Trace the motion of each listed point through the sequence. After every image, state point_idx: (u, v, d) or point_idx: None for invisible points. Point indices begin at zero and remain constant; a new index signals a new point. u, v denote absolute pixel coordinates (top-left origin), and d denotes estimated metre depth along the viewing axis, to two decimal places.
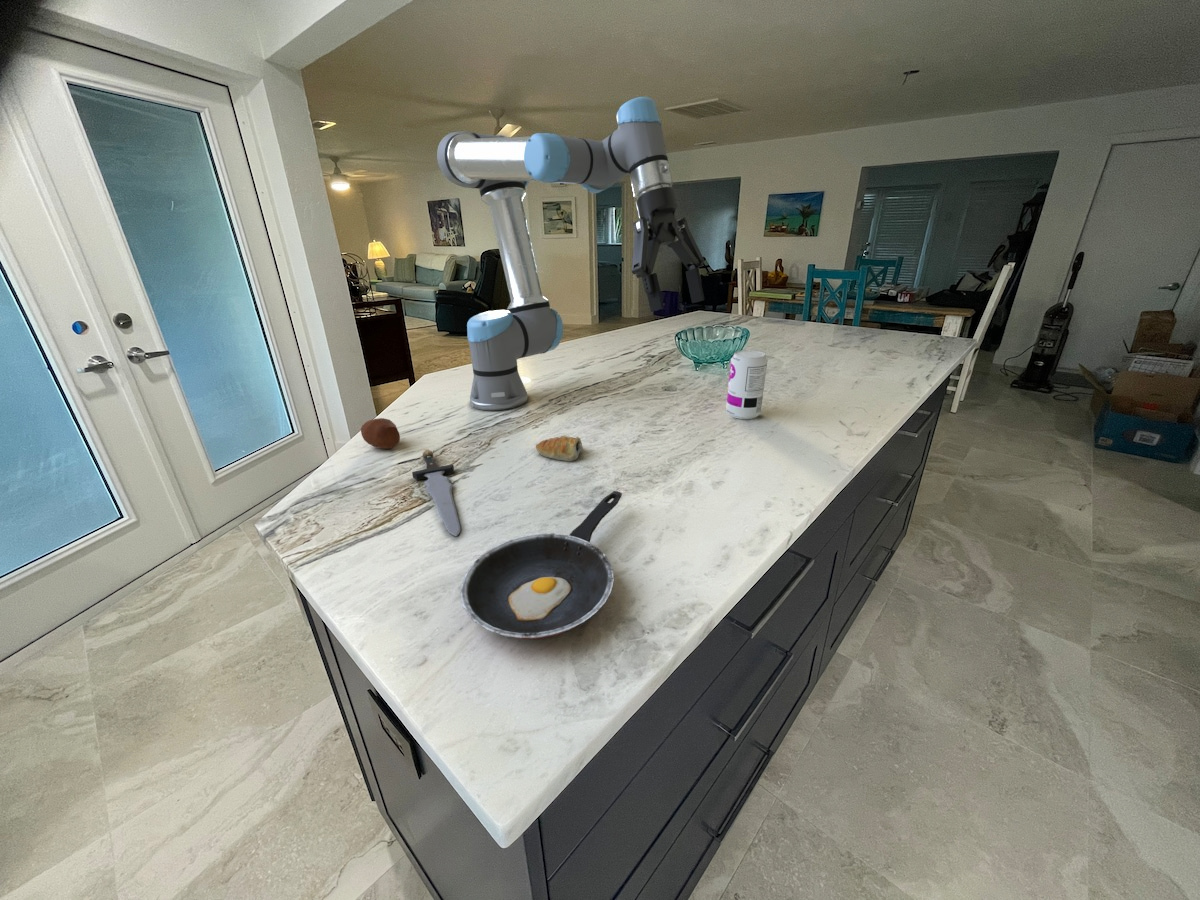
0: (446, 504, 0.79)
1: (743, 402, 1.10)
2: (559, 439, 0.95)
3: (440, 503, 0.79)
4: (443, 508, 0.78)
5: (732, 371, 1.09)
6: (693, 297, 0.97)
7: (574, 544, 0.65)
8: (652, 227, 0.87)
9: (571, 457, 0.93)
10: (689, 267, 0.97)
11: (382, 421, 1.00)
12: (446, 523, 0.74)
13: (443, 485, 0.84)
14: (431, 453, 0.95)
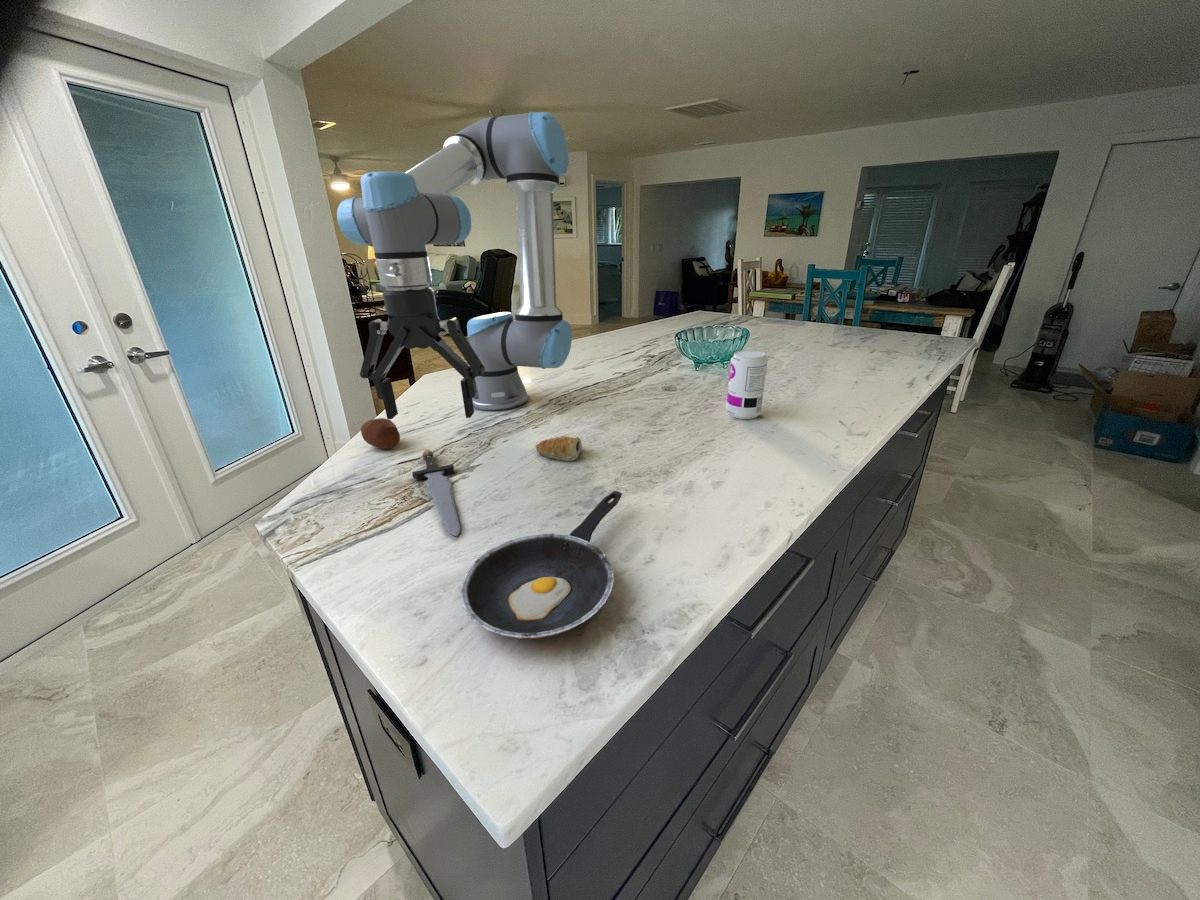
0: (446, 504, 0.79)
1: (743, 402, 1.10)
2: (559, 439, 0.95)
3: (440, 503, 0.79)
4: (443, 508, 0.78)
5: (732, 371, 1.09)
6: None
7: (574, 544, 0.65)
8: (389, 331, 0.75)
9: (571, 457, 0.93)
10: None
11: (382, 421, 1.00)
12: (446, 523, 0.74)
13: (443, 485, 0.84)
14: (431, 453, 0.95)
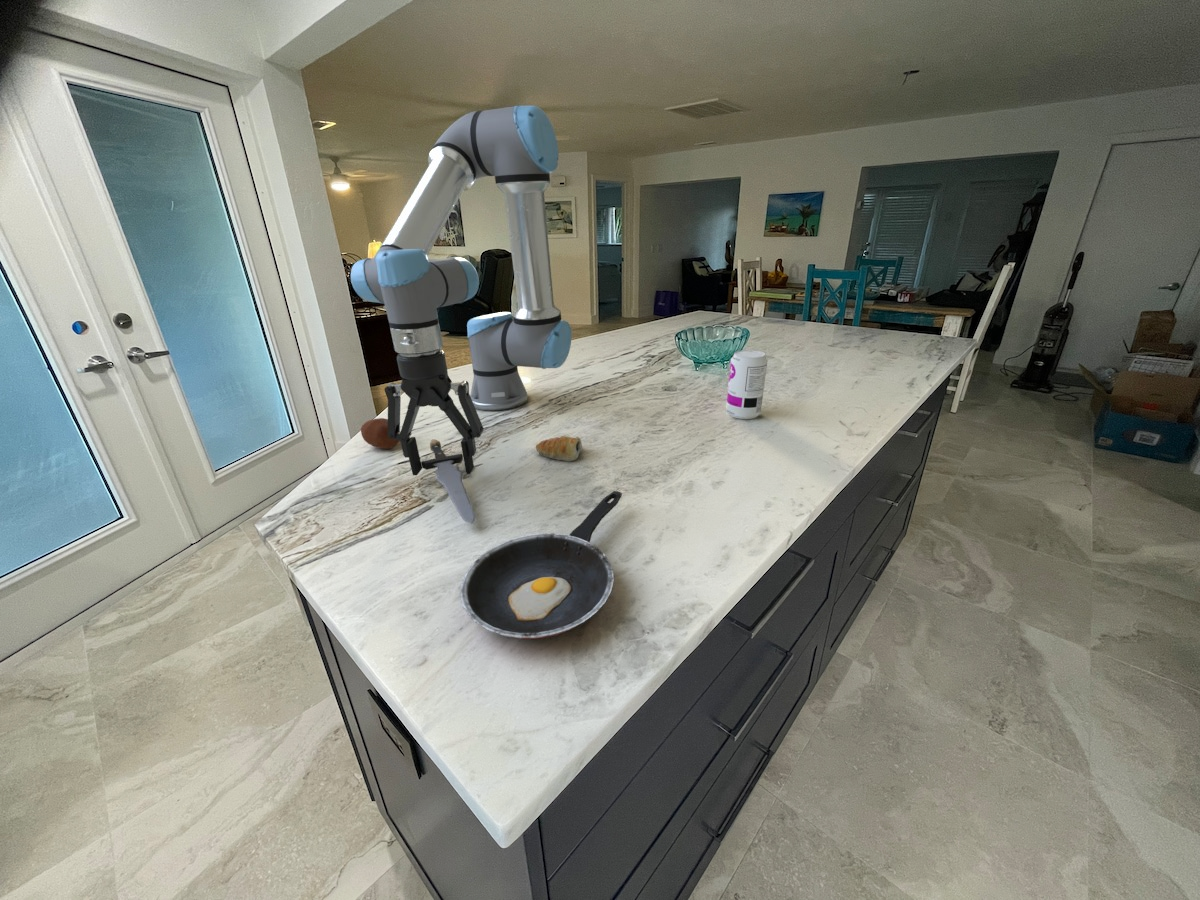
0: (458, 492, 0.79)
1: (743, 402, 1.10)
2: (559, 439, 0.95)
3: (452, 491, 0.79)
4: (456, 496, 0.78)
5: (732, 371, 1.09)
6: None
7: (574, 544, 0.65)
8: (403, 390, 0.79)
9: (571, 457, 0.93)
10: None
11: (382, 421, 1.00)
12: (460, 511, 0.74)
13: (453, 474, 0.84)
14: (438, 443, 0.95)
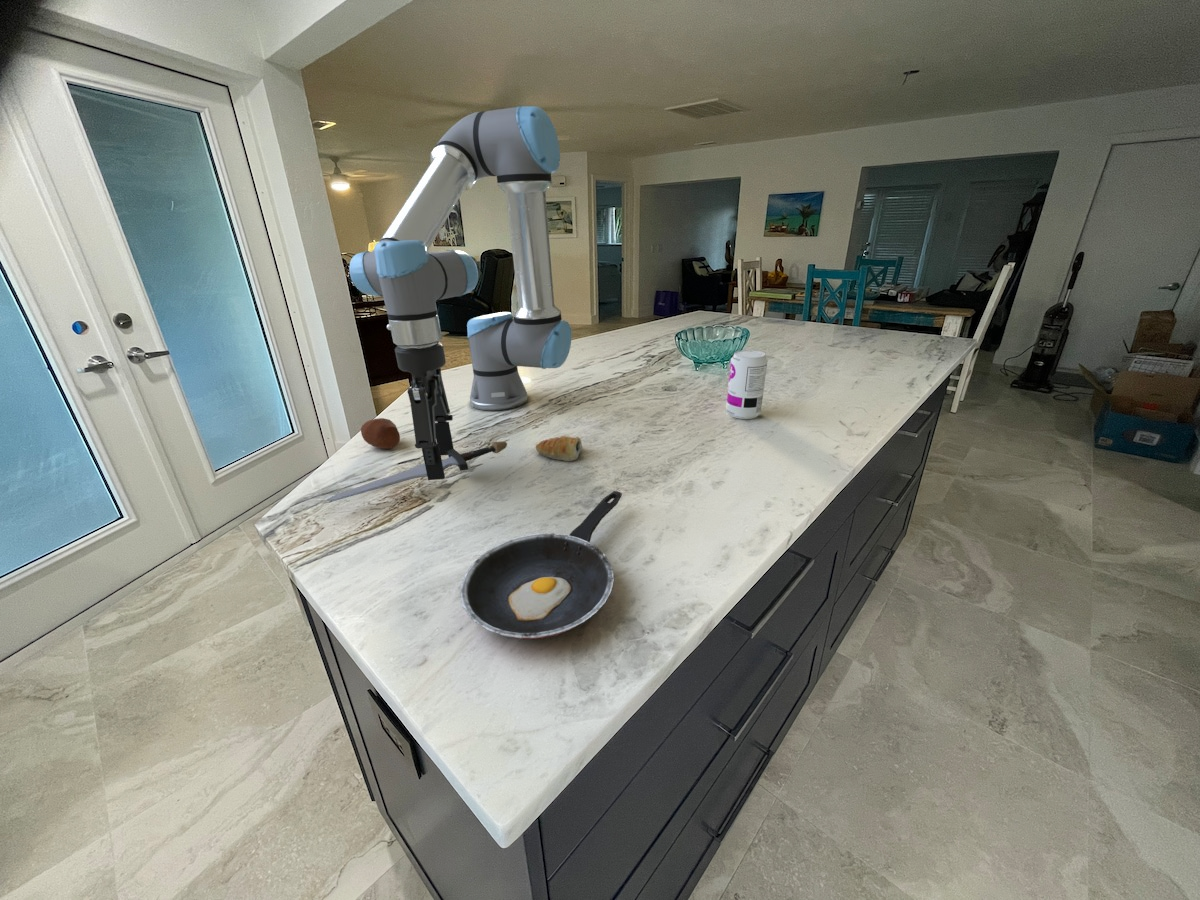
0: (384, 481, 0.80)
1: (743, 402, 1.10)
2: (559, 439, 0.95)
3: (388, 477, 0.81)
4: (377, 481, 0.80)
5: (732, 371, 1.09)
6: None
7: (574, 544, 0.65)
8: None
9: (571, 457, 0.93)
10: None
11: (382, 421, 1.00)
12: (349, 490, 0.78)
13: (423, 470, 0.83)
14: (494, 446, 0.90)
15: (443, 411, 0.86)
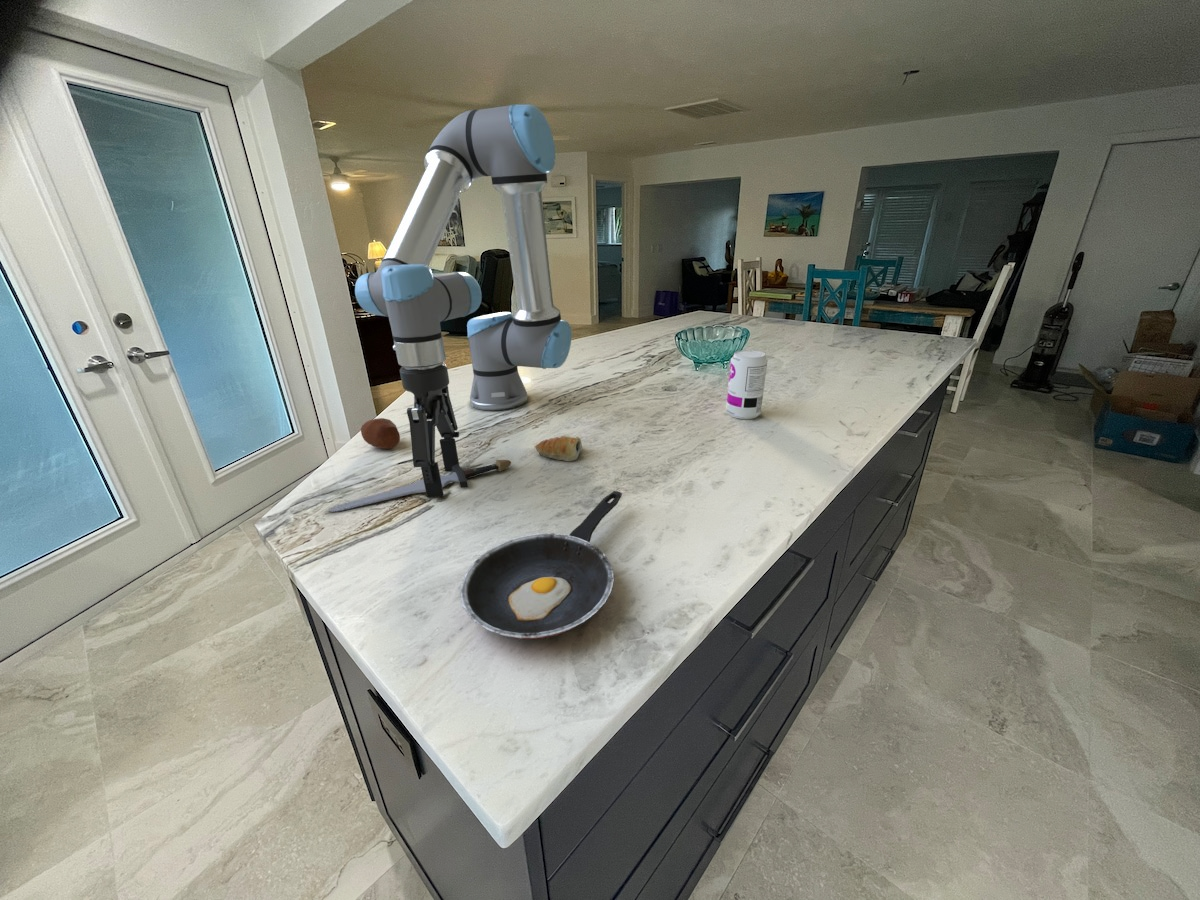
0: (386, 494, 0.82)
1: (743, 402, 1.10)
2: (559, 439, 0.95)
3: (390, 490, 0.83)
4: (380, 494, 0.83)
5: (732, 371, 1.09)
6: None
7: (574, 544, 0.65)
8: None
9: (571, 457, 0.93)
10: None
11: (382, 421, 1.00)
12: (352, 501, 0.81)
13: None
14: (497, 464, 0.90)
15: (449, 428, 0.87)
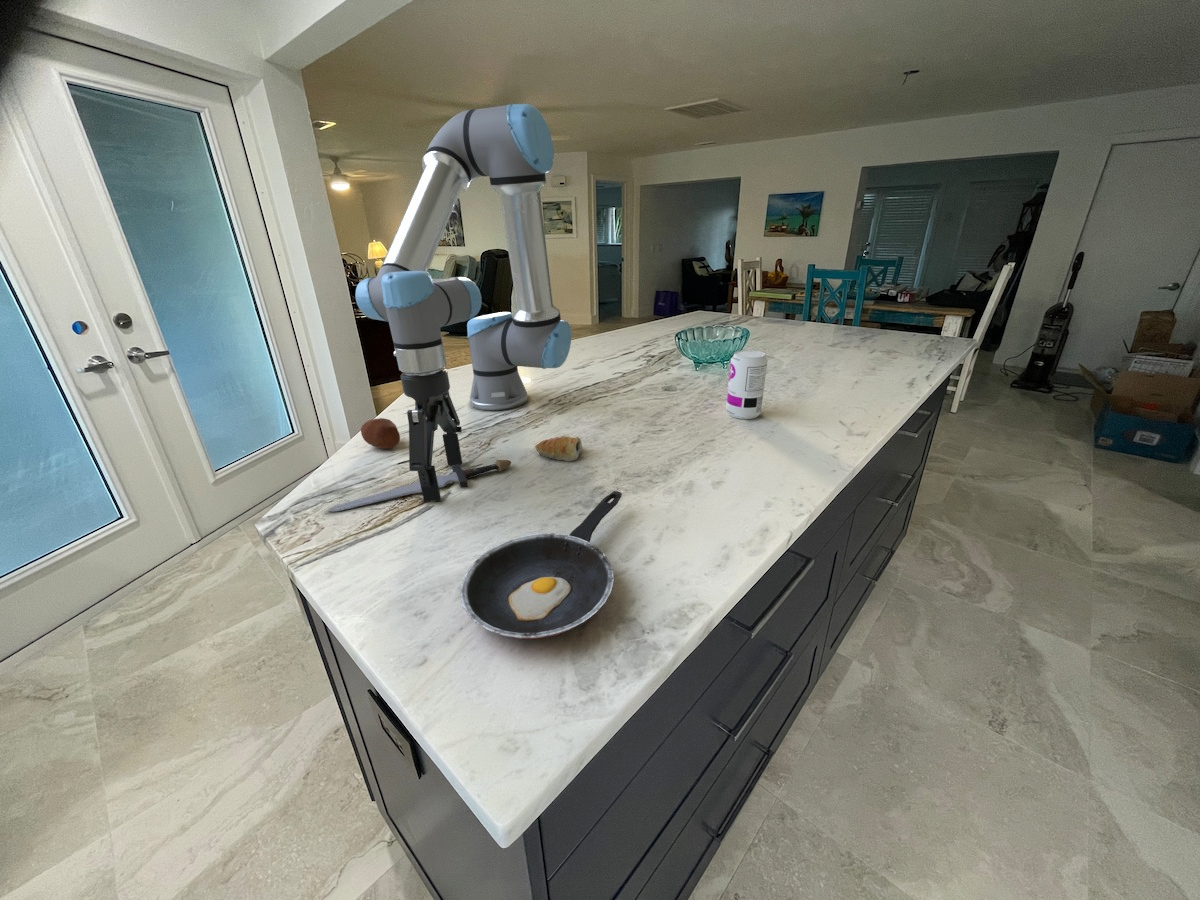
0: (386, 494, 0.82)
1: (743, 402, 1.10)
2: (559, 439, 0.95)
3: (390, 490, 0.83)
4: (380, 494, 0.83)
5: (732, 371, 1.09)
6: None
7: (574, 544, 0.65)
8: None
9: (571, 457, 0.93)
10: None
11: (382, 421, 1.00)
12: (352, 501, 0.81)
13: None
14: (497, 464, 0.90)
15: (451, 426, 0.89)
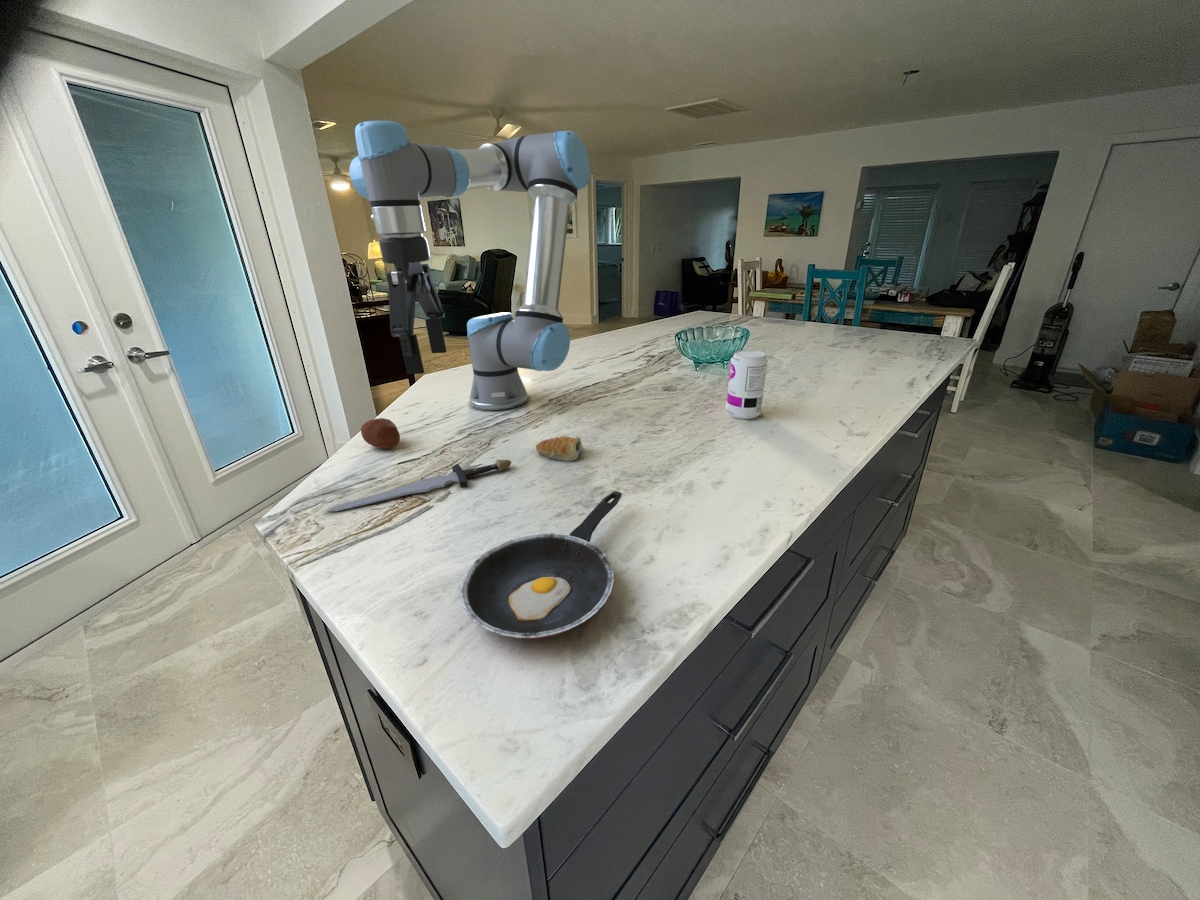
0: (386, 494, 0.82)
1: (743, 402, 1.10)
2: (559, 439, 0.95)
3: (390, 490, 0.83)
4: (380, 494, 0.83)
5: (732, 371, 1.09)
6: None
7: (574, 544, 0.65)
8: None
9: (571, 457, 0.93)
10: None
11: (382, 421, 1.00)
12: (352, 501, 0.81)
13: (425, 485, 0.84)
14: (497, 464, 0.90)
15: (434, 308, 0.88)
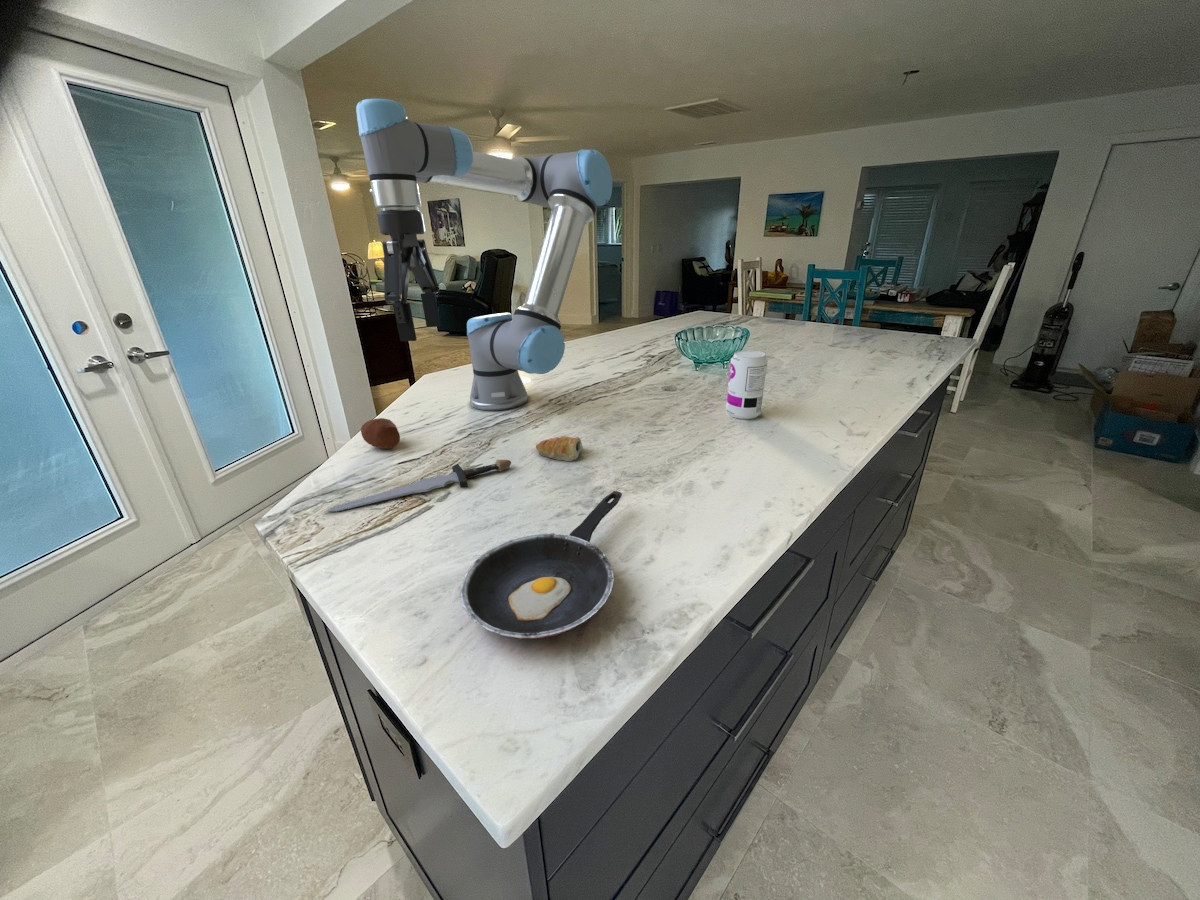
0: (386, 494, 0.82)
1: (743, 402, 1.10)
2: (559, 439, 0.95)
3: (390, 490, 0.83)
4: (380, 494, 0.83)
5: (732, 371, 1.09)
6: None
7: (574, 544, 0.65)
8: None
9: (571, 457, 0.93)
10: None
11: (382, 421, 1.00)
12: (352, 501, 0.81)
13: (425, 485, 0.84)
14: (497, 464, 0.90)
15: (429, 282, 0.92)
